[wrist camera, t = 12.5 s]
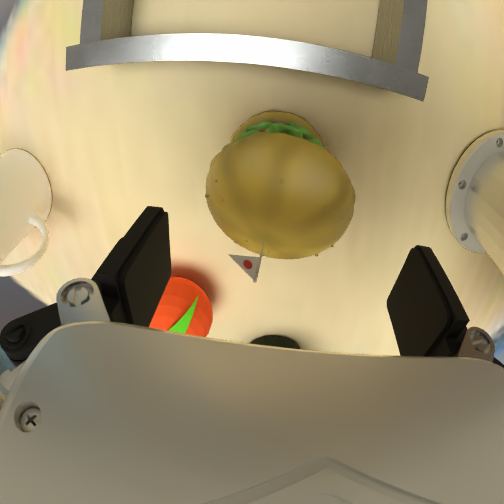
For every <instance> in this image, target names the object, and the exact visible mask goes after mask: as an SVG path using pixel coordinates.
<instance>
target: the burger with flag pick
mask: <svg viewBox="0 0 504 504" xmlns="http://www.w3.org/2000/svg"><path fill="white" fill-rule="evenodd" d="M205 197H206V199H207V204H208V207H209V210H210V212H211V214H212V216H213V218H214V220H215V222H216V223H217V225H218V226H219V227H220V228H221V229H222V231H223V232H224V233H225V234H226V235H227V236H228V237H230V238H231V239H232V240H233V241H234V242H235V243H237V244H239V245H240V246H242V247H244V248H246V249H248V250H250V251H252V252H254V253H257V254H260V258H258V257H248V256H239V255H229V254H228V255H229V256H230V257H231V258H232V259H233V260H234V261H235V262H236V263H237V264H238V265H239V266H240V267H241V268H242V269H243V270H244V271H245V272H246V273H247V274H248V275H249V276H250V277H251V278H252V279H253V282H256V281H257V277H258V272H259V267H260V263H261V258H262V256H267V257H271V258H278V259H298V258H304V257H309V256H312V255H315V256H318V253H320V252H322V251H324V250H326V249H328V248H329V247H333V244H334V243H335V242H336V241H337V240H339V239H340V237H341V236H342V235H343V234H344V232H345V230H346V229H347V227H348V225H349V223H350V221H351V219H352V216H353V211H354V203H355V191H354V188H353V186H352V184H351V181H350V179H349V177H348V175H347V174H346V172H345V170H344V169H343V167H342V165H341V163H340V162H339V161H338V160H337V159H336V158H335V157H333V156H332V155H331V154H330V152H329V151H328V150H326V149H325V147H324V145H323V143H322V140H321V138H320V136H319V135H318V134H317V133H316V132H315V130H314V129H313V128H312V127H311V126H310V125H309V124H308V123H307V121H306V120H304V119H303V118H301V117H298V116H295V115H294V114H292V113H283V112H263V113H261V114H259V115H257V116H253V117H251V118H250V120H248V121H247V122H246V123H244V124H242V125H241V126H240V128H239V129H238V130H237V131H236V132H235V133H234V134H233V136H232V139H231V143H230V144H228V145H226V146H225V147H224V148H223V149H222V151H221V152H220V153H218V154H217V155H216V156H215V157H214V159H213V160H212V162H211V166H210V171H209V173H208V176H207V181H206V195H205Z"/></svg>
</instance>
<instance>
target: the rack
mask: <svg viewBox="0 0 504 504" xmlns="http://www.w3.org/2000/svg"><path fill="white" fill-rule="evenodd" d="M133 2H134V0H84V1H83V10H82V21H81V34H80V44H79V45H74V46H69V47H66V71H67V70H73V69H79V68H85V67H92V66H100V65H108V64H118V63H130V62H145V61H174V60H193V61H222V62H238V63H250V64H260V65H268V66H277V67H284V68H291V69H297V70H303V71H309V72H315V73H320V74H325V75H330V76H335V77H339V78H344V79H348V80H353V81H357V82H361V83H365V84H368V85H372V86H376V87H379V88H383V89H386V90H390V91H393V92H396V93H399V94H403V95H406V96H409V97H412V98H415V99H418V100H420V101H423V102H424V98H425V93H426V88H427V83H428V78H429V77H427V76H424V75H422V74H419V73H417V72H418V66H419V60H420V54H421V48H422V41H423V34H424V27H425V18H426V9H427V0H380V2H379V10H378V18H377V25H376V33H375V39H374V46H373V52H372V58H370V57H367V56H363V55H359V54H355V53H351V52H347V51H343V50H339V49H334V48H330V47H325V46H320V45H315V44H309V43H304V42H297V41H291V40H284V39H277V38H268V37H259V36H248V35H234V34H210V33H181V34H157V35H143V36H132V37H130V33H131V22H132V11H133Z"/></svg>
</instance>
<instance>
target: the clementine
mask: <svg viewBox="0 0 504 504" xmlns="http://www.w3.org/2000/svg"><path fill="white" fill-rule="evenodd" d="M212 319H213V313H212V306H211V303H210V301H209V298H208V296H207V294H206V293H205V292H204V291H203V290H202V288H200V287H199V286H198V285H197V284H196V283H194V282H193V281H191V280H188V279H186V278H182V277H170V279H169V281H168V284H167V286H166V288H165V290H164V293H163V295H162V297H161V300H160V302H159V304H158V307H157V309H156V311H155V314H154V316H153V318H152V321H151V323H150V326H149V327H150V328H156V329H161V330H167V331H172V332H178V333H184V334H190V335H196V336H202V337H206V336H207V334H208V333H209V330H210V327H211V324H212Z"/></svg>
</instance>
